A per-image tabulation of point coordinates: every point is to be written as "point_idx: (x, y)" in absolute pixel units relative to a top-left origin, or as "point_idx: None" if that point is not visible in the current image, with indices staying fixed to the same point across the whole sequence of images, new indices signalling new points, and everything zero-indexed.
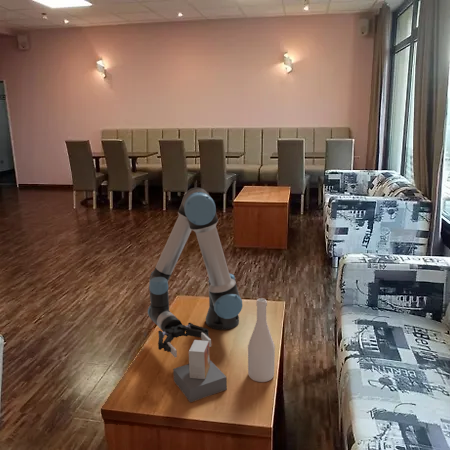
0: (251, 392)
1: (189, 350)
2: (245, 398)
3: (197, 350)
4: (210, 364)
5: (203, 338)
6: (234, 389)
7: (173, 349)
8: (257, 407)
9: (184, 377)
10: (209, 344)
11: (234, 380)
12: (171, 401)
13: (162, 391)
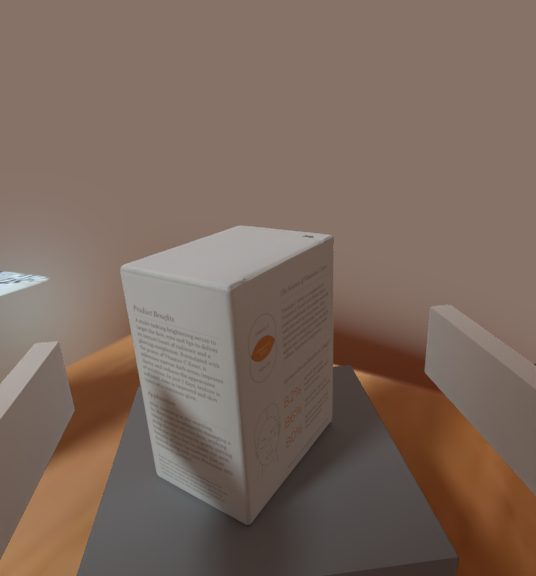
0: (76, 409)
1: (325, 236)
2: (126, 392)
3: (271, 231)
4: (128, 504)
5: (8, 481)
6: (118, 440)
7: (465, 317)
8: (128, 359)
9: (365, 436)
10: (68, 385)
11: (56, 496)
12: (444, 455)
13: (521, 548)
